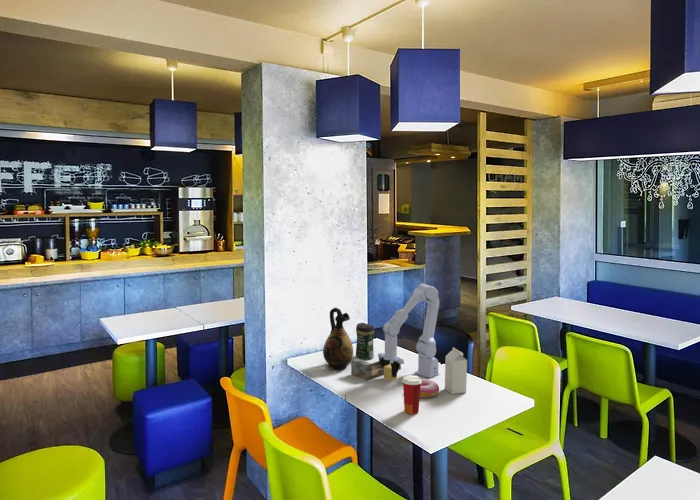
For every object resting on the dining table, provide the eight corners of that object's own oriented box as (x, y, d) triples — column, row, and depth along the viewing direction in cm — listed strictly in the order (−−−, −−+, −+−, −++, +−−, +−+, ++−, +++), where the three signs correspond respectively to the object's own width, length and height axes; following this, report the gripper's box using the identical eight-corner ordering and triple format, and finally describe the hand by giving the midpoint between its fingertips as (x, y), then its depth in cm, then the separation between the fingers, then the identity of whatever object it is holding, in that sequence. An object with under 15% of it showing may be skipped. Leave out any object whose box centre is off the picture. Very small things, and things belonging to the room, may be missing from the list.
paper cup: (419, 407, 211) (420, 374, 210) (422, 415, 204) (423, 381, 202) (400, 407, 211) (400, 374, 209) (402, 415, 203) (403, 381, 202)
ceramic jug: (359, 366, 261) (360, 309, 258) (338, 374, 250) (338, 314, 247) (336, 359, 273) (336, 304, 270) (314, 366, 262) (314, 308, 258)
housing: (397, 378, 245) (397, 366, 244) (390, 381, 241) (390, 368, 241) (389, 376, 248) (390, 364, 247) (383, 378, 245) (383, 366, 244)
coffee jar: (353, 356, 277) (353, 323, 276) (363, 353, 283) (364, 320, 281) (365, 361, 270) (365, 326, 268) (376, 358, 276) (376, 324, 274)
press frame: (400, 369, 258) (401, 354, 257) (367, 380, 242) (367, 365, 241) (384, 363, 266) (384, 349, 265) (351, 374, 250) (351, 359, 249)
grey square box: (396, 365, 259) (396, 357, 258) (389, 367, 255) (389, 360, 254) (386, 361, 264) (386, 354, 263) (378, 364, 260) (378, 356, 260)
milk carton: (451, 394, 226) (452, 352, 224) (444, 388, 232) (445, 347, 230) (466, 392, 227) (467, 351, 225) (458, 387, 234) (459, 346, 232)
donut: (402, 390, 231) (402, 379, 230) (428, 386, 236) (429, 375, 235) (416, 401, 218) (417, 389, 218) (444, 397, 223) (444, 386, 222)
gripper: (373, 345, 245) (373, 373, 247) (396, 352, 235) (396, 381, 236) (383, 343, 250) (383, 370, 252) (406, 349, 240) (406, 377, 241)
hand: (390, 375), depth 244 cm, fingers closed on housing, 4 cm apart
